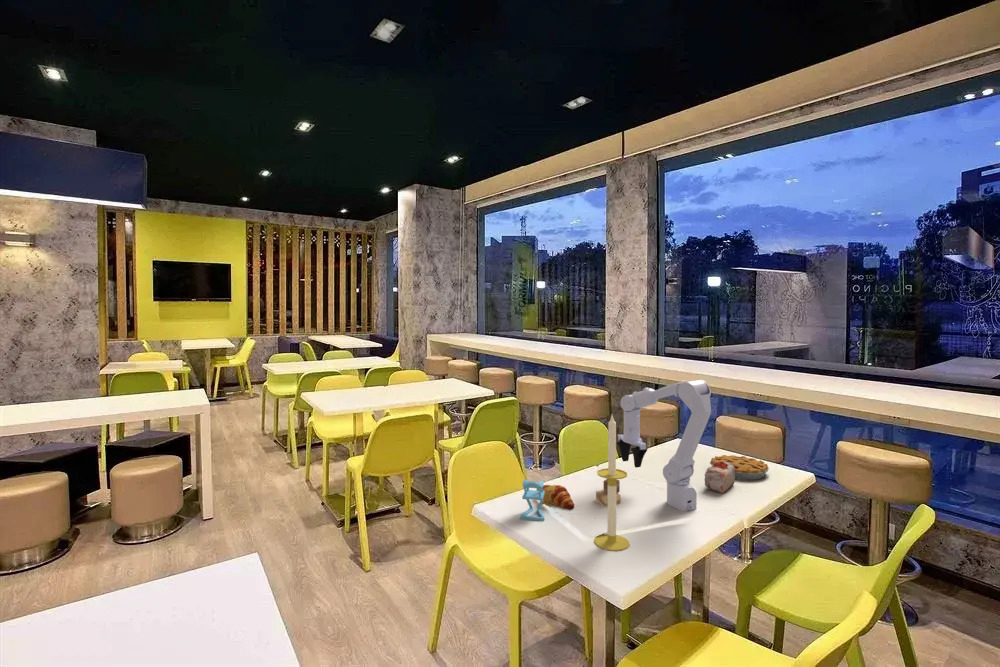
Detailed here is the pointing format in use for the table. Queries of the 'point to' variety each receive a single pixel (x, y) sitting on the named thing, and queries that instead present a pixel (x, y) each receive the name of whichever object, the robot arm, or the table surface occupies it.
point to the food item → (720, 476)
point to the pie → (744, 466)
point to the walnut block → (607, 486)
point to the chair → (533, 495)
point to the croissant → (557, 496)
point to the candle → (612, 496)
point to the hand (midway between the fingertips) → (631, 463)
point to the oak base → (606, 498)
